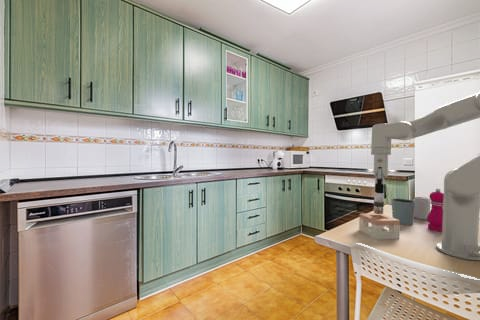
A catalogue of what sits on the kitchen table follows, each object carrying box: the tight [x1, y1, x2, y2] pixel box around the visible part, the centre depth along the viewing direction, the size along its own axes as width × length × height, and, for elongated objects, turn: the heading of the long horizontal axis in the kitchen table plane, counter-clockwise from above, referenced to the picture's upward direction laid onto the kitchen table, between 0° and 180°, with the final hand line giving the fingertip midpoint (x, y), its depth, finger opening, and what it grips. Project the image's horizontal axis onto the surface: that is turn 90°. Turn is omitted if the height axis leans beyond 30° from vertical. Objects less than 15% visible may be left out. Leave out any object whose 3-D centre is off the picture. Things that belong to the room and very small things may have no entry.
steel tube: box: [373, 177, 385, 214], centre depth 99 cm, size 4×4×16 cm
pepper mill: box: [426, 188, 444, 233], centre depth 106 cm, size 7×7×20 cm
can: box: [412, 196, 431, 221], centre depth 123 cm, size 8×8×12 cm
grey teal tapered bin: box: [391, 198, 415, 226], centre depth 116 cm, size 10×10×12 cm
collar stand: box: [358, 212, 401, 240], centre depth 99 cm, size 11×11×8 cm
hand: (379, 191), depth 99 cm, fingers closed on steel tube, 3 cm apart
